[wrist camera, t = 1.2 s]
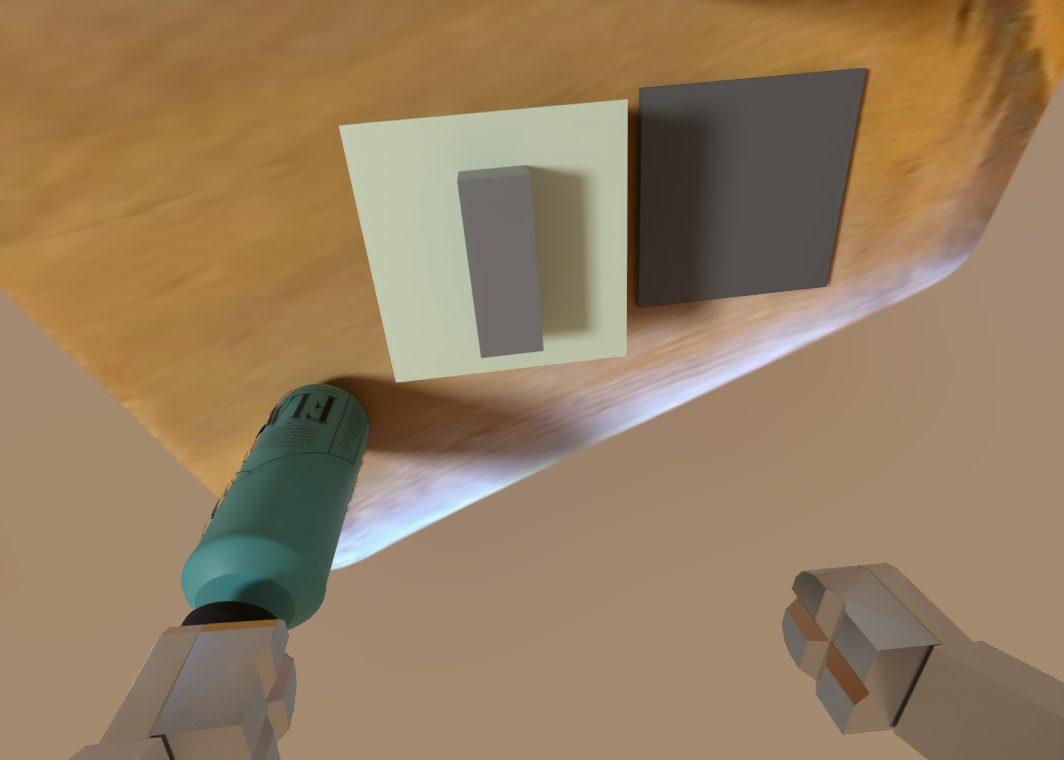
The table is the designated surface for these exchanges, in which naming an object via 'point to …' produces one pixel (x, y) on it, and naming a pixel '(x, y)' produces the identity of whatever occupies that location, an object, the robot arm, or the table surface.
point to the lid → (496, 235)
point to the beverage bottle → (281, 514)
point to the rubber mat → (742, 184)
